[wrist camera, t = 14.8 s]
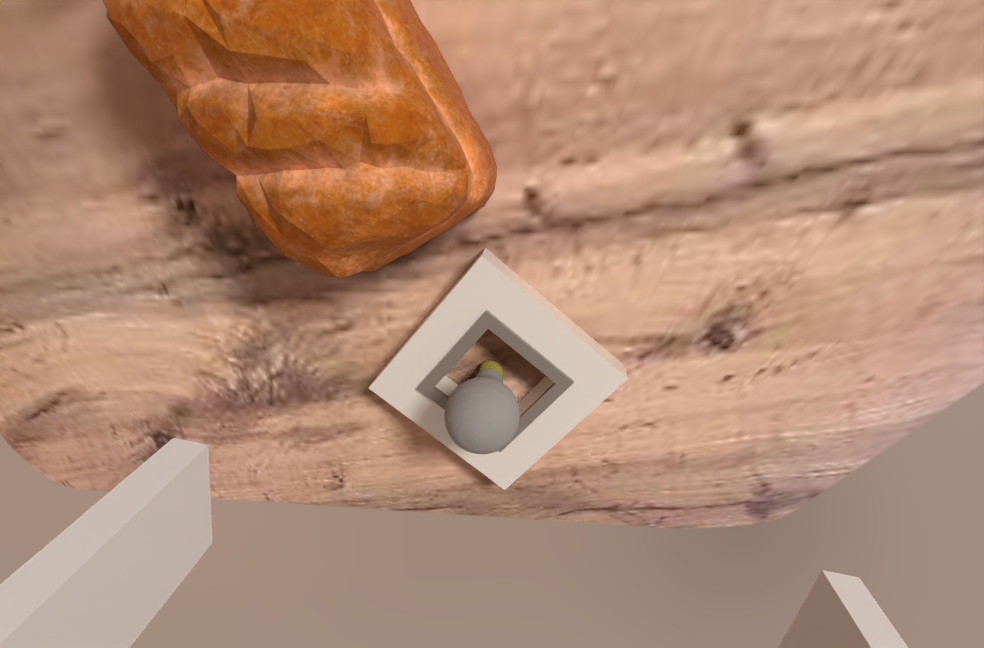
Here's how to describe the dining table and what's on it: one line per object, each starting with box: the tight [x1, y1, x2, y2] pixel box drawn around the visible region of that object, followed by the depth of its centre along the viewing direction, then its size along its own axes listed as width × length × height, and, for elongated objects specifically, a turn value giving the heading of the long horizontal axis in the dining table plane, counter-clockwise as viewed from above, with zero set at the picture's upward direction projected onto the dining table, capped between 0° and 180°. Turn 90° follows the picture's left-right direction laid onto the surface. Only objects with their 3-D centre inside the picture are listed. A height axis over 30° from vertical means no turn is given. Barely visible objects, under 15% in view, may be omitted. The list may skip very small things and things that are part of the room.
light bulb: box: [444, 361, 520, 454], centre depth 39 cm, size 5×6×10 cm
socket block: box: [369, 248, 628, 490], centre depth 42 cm, size 15×15×3 cm
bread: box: [103, 0, 497, 277], centre depth 29 cm, size 14×26×16 cm, turn 31°
